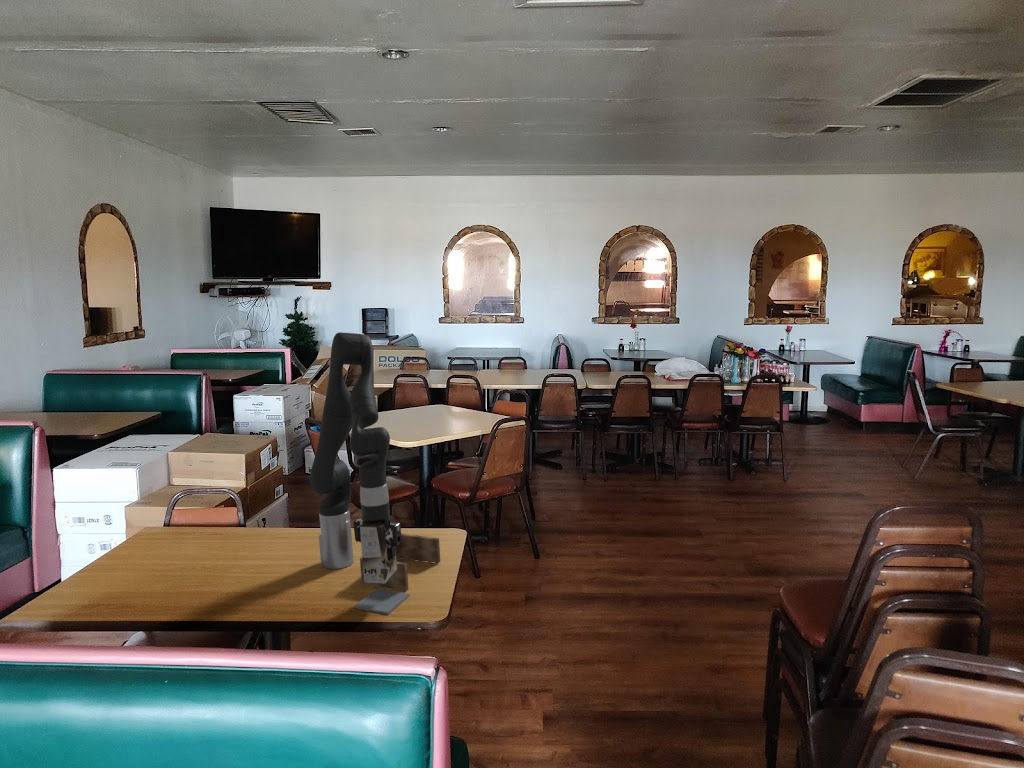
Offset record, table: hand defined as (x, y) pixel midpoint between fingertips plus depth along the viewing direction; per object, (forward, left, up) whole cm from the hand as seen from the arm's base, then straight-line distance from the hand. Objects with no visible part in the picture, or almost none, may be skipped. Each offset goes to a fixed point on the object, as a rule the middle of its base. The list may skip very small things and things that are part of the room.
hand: (379, 557), depth 190 cm
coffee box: (0, 0, -6) cm, 6 cm away
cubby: (-5, +18, -13) cm, 22 cm away
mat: (0, 0, -13) cm, 13 cm away
